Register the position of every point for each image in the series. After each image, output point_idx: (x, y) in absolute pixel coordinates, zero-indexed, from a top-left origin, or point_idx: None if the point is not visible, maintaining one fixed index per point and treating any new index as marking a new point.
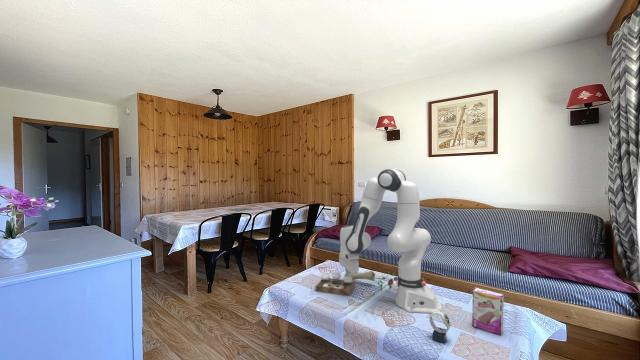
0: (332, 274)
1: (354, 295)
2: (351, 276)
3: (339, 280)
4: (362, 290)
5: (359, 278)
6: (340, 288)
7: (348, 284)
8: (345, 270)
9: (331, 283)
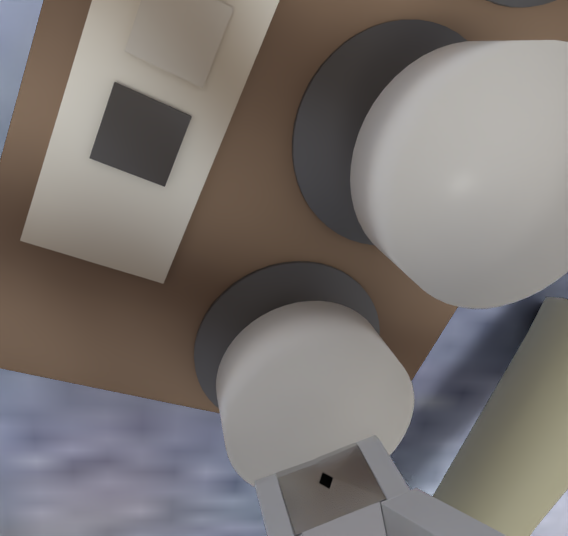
0: (534, 44)
1: (16, 377)
2: (519, 419)
3: None
4: (196, 472)
5: None
6: (36, 190)
7: None
8: (465, 525)
9: (362, 8)
